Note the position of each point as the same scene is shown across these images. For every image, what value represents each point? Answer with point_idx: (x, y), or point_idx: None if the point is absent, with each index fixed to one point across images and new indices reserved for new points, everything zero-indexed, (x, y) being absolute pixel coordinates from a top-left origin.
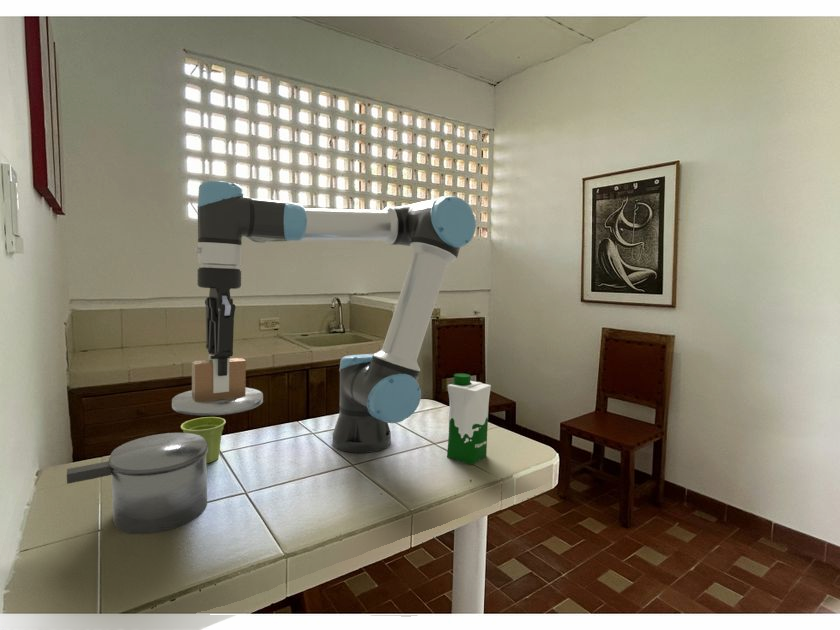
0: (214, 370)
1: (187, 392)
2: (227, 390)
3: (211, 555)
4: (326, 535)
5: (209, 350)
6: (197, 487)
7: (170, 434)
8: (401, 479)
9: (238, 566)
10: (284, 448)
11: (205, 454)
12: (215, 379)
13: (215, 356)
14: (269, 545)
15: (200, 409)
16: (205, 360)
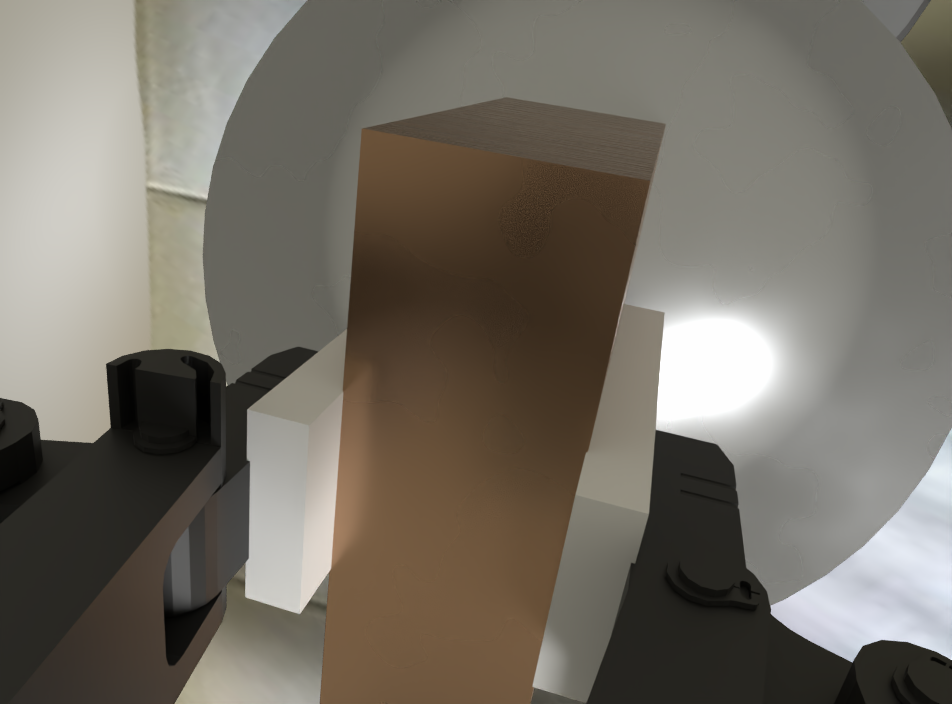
0: (328, 346)
1: (911, 157)
2: None
3: (241, 4)
4: (159, 322)
5: (656, 578)
6: None
7: (880, 3)
8: (307, 668)
9: (149, 52)
10: (860, 616)
11: None
12: None
13: (117, 410)
14: (197, 173)
15: (264, 58)
16: (587, 389)
